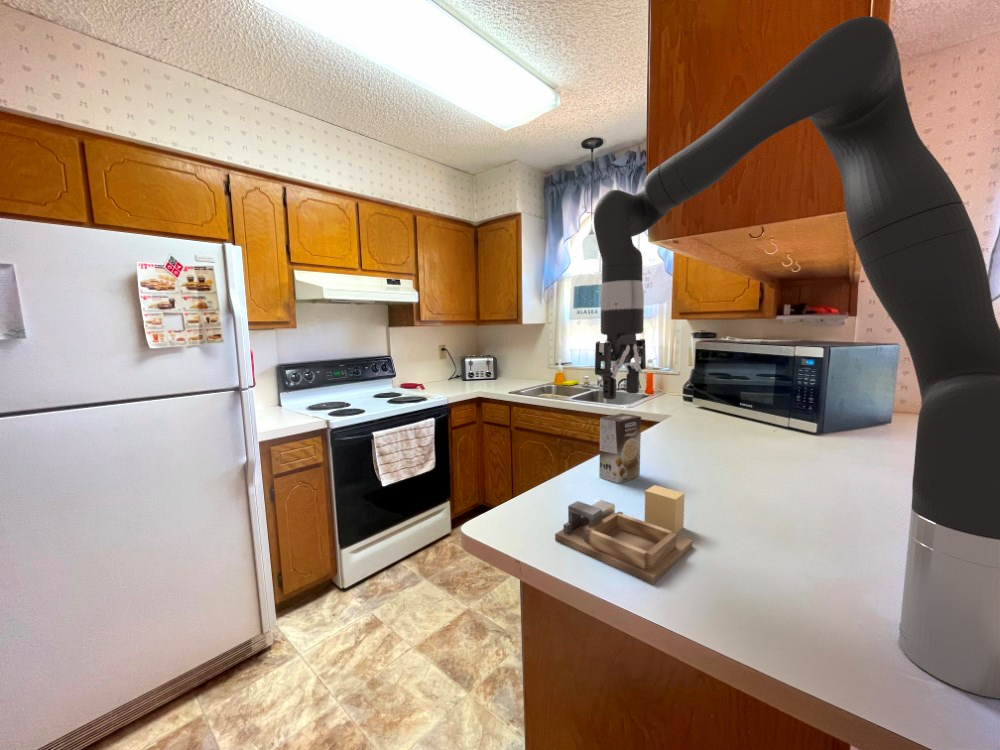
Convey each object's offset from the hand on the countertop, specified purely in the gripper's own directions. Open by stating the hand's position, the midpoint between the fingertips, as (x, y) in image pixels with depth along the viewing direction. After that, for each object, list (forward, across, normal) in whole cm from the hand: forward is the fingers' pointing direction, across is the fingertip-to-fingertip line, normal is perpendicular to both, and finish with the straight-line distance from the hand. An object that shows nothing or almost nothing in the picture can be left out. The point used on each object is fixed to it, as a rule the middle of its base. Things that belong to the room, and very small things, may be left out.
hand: (621, 395), depth 76 cm
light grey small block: (+25, -1, +3) cm, 25 cm away
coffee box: (+26, +26, +15) cm, 40 cm away
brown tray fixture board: (+26, -4, -2) cm, 27 cm away
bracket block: (+26, +7, -5) cm, 28 cm away
